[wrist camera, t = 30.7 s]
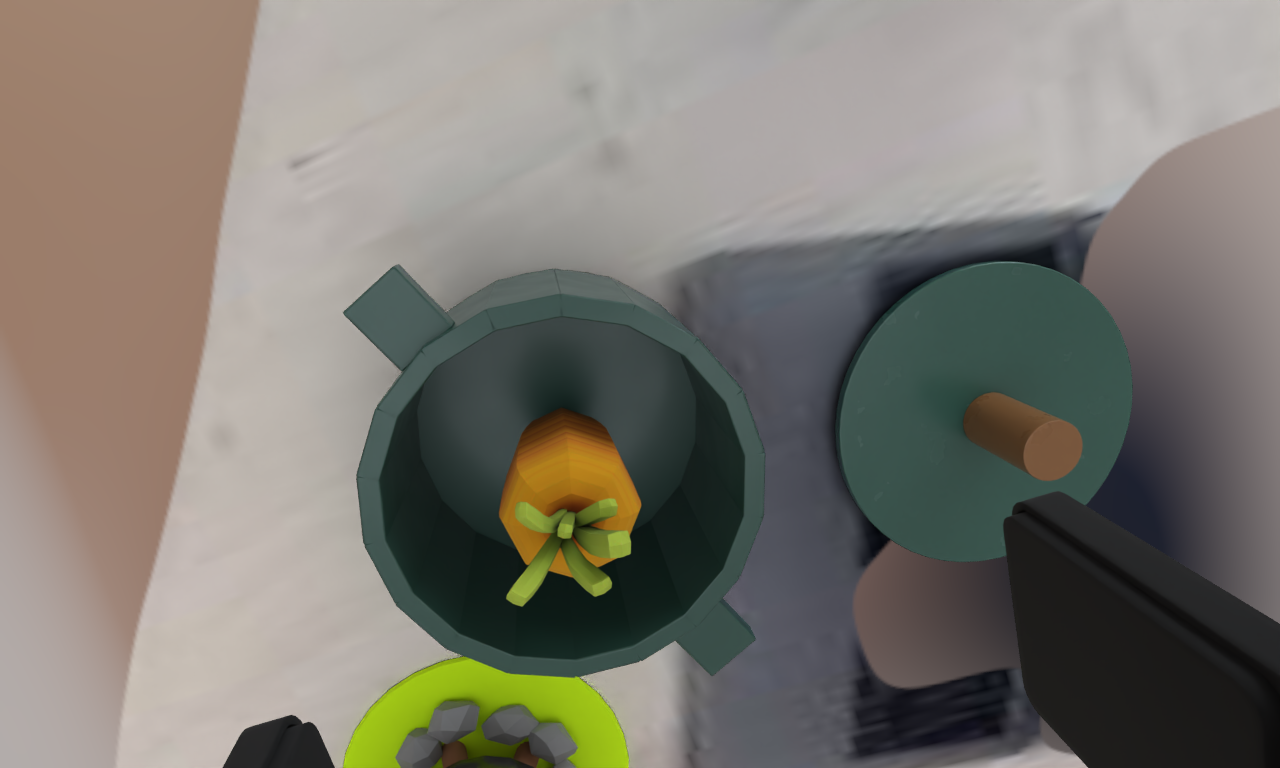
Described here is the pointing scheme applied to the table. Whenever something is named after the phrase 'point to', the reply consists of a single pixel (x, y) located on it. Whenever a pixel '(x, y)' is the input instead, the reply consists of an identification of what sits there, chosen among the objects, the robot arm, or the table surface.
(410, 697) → the toy cauldron
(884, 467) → the lid
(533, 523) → the carrot
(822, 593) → the table surface
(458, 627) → the pot
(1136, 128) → the table surface
